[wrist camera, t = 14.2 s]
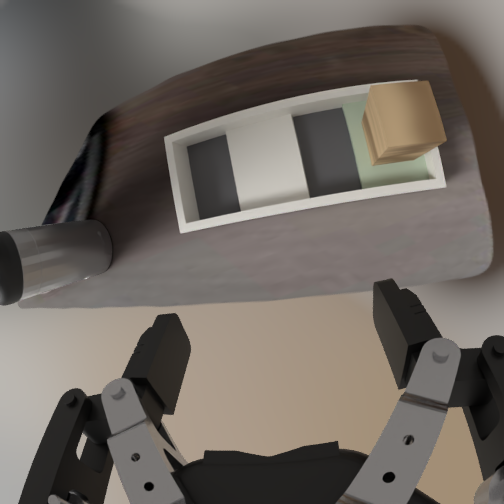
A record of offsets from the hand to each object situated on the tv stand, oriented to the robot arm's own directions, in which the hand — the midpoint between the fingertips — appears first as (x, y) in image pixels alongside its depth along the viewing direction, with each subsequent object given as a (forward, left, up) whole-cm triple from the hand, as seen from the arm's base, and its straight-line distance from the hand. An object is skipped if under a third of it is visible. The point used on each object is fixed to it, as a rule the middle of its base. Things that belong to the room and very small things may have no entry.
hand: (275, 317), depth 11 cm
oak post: (+10, +10, -22) cm, 26 cm away
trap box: (0, +10, -23) cm, 25 cm away
